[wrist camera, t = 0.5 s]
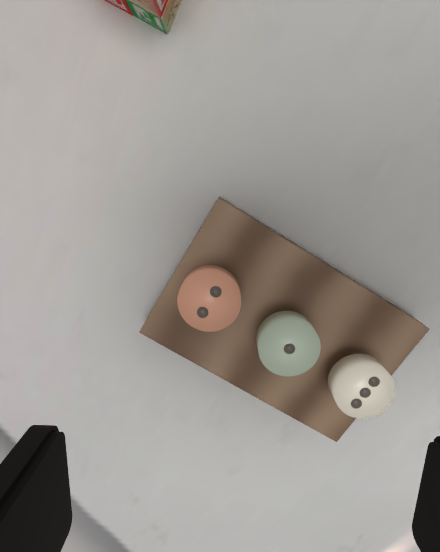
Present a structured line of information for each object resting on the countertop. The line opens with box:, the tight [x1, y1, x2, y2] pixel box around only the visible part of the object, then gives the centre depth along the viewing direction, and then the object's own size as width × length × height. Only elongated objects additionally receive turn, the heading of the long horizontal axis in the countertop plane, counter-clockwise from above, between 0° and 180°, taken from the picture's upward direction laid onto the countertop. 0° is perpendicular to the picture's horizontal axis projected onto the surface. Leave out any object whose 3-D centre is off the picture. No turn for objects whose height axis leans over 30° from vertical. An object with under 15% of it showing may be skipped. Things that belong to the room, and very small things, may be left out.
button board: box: [139, 197, 429, 442], centre depth 33 cm, size 22×14×3 cm, turn 59°
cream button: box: [328, 354, 396, 419], centre depth 30 cm, size 5×5×2 cm
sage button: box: [256, 311, 321, 377], centre depth 29 cm, size 5×5×2 cm
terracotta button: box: [177, 265, 241, 332], centre depth 28 cm, size 5×5×2 cm
